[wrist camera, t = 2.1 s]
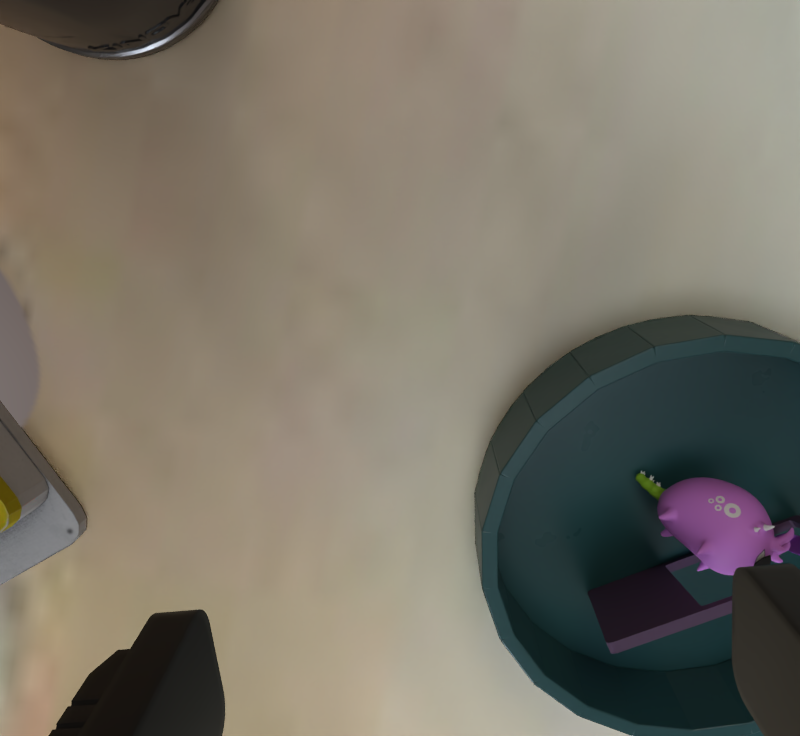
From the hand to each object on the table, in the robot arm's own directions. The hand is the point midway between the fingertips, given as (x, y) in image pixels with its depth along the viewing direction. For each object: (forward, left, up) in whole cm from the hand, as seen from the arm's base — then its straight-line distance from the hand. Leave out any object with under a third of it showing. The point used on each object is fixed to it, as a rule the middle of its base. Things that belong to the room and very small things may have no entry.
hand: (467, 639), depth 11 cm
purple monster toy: (+10, +6, -18) cm, 21 cm away
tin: (+10, +6, -18) cm, 21 cm away
